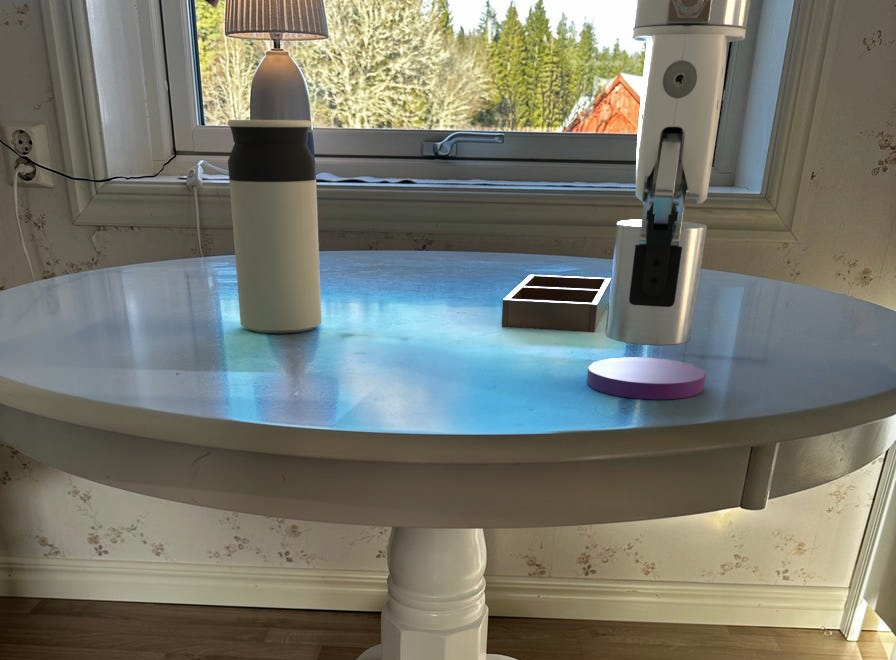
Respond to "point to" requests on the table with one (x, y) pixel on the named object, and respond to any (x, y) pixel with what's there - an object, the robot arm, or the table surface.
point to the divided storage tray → (557, 303)
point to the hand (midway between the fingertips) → (653, 295)
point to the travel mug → (275, 225)
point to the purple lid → (646, 378)
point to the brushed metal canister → (653, 320)
